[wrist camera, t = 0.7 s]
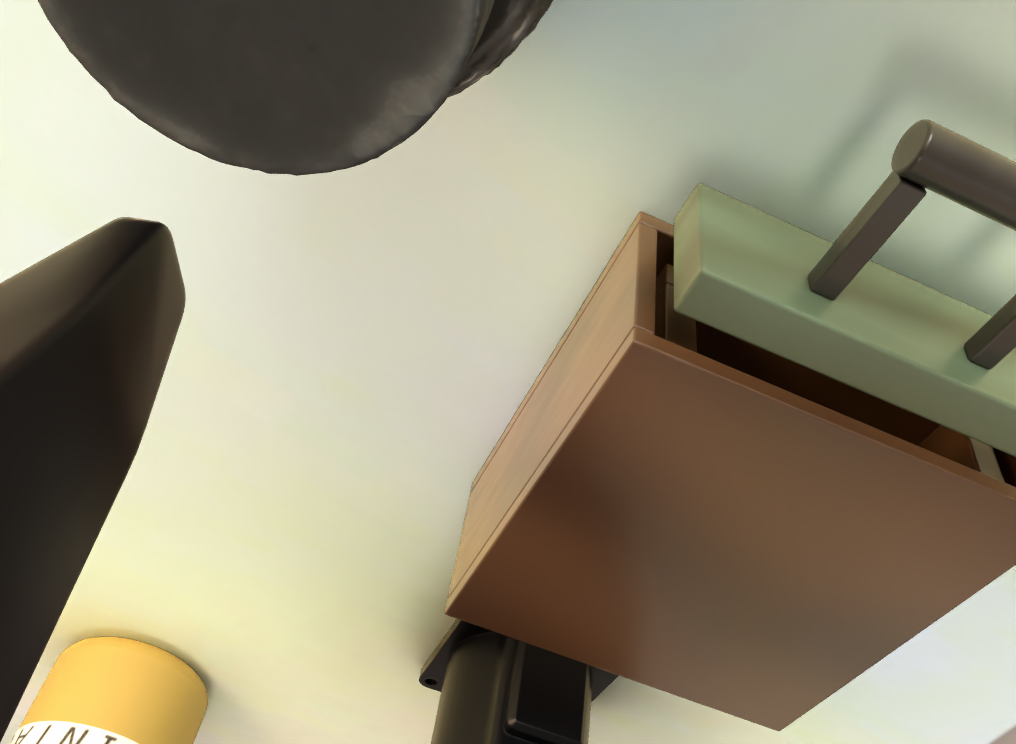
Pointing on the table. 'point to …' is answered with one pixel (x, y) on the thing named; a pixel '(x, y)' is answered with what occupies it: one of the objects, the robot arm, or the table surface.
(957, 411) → the drawer
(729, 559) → the box
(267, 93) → the pill bottle
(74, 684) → the paper tube
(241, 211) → the table surface
